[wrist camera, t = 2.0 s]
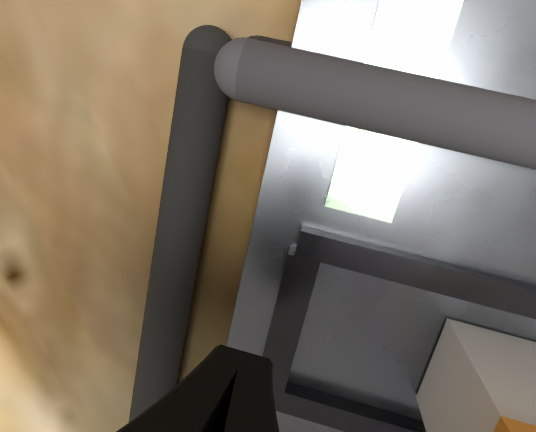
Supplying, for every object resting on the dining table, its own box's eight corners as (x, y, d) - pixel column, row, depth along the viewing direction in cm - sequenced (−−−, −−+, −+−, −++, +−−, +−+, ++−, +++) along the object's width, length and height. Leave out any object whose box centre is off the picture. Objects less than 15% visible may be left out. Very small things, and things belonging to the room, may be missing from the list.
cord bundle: (641, 592, 15) (714, 707, 12) (135, 431, 17) (95, 498, 14) (937, 185, 11) (1168, 213, 8) (197, 26, 13) (155, 0, 10)
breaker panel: (553, 636, 17) (584, 708, 15) (193, 516, 18) (176, 566, 16) (960, 25, 10) (1120, 3, 8) (328, -90, 11) (327, -133, 9)
